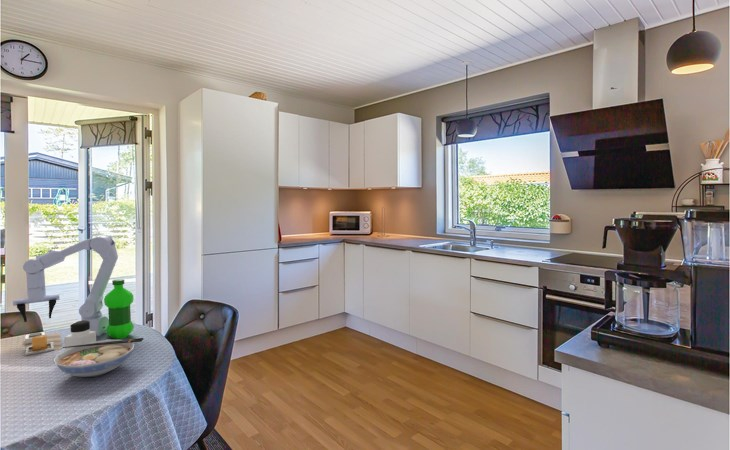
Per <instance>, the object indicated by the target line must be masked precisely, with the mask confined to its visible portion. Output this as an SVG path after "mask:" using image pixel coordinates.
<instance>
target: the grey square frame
mask: <svg viewBox="0 0 730 450" xmlns="http://www.w3.org/2000/svg"><path fill="white" fill-rule="evenodd" d="M48 345H51V348H48V349H43V350H38V351H33V352H29V349H32V346H29V347H26V352H25V356H24V357H27V356H26V355H29V356H32V355H31V354H34V355H38V354H37V353H39V354H43V353H42V352H44V353H48V352H47V351H49V352H53V351H52V350H54V347H53V342H51V343H47V346H48Z"/></svg>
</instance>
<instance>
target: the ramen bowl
mask: <svg viewBox="0 0 730 450" xmlns="http://www.w3.org/2000/svg"><path fill="white" fill-rule="evenodd" d="M143 340H144V337H139V338H138V337H136V338H131V339H128V338H127V339H105V340H98V341H97V340H96V342H92V343H87V344H83V345H77V346H68V347H65V346H62V349H64V351H62V352H60V353H58V354H56V355H55V357H54V358H53V362H54V363H55V365H56V366H57V368H58V369H59V370H60V371H61V372H63V373H64V374H66V375H69V376H74V377H80V378H81V377H82V378H84V377H85V378H95V377H100V376H102V375H105V374H107V373H108V372H111V371H113V370H115V369H116V368H118V367H119V366H121V365H122V364H124V363H125V362H126V361H127V360H128V358H129V357H130V356H131V354H132V352H133V350H134V348H135V343H141V342H143ZM70 347H73V348H70ZM65 348H70V349H68V350H65Z"/></svg>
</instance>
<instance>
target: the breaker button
mask: <svg viewBox="0 0 730 450" xmlns="http://www.w3.org/2000/svg"><path fill="white" fill-rule="evenodd" d="M41 332H42V331H39V332H35V333H29V334H30V338H31V337H35V336H39V335H41Z"/></svg>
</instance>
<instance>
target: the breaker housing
mask: <svg viewBox="0 0 730 450" xmlns="http://www.w3.org/2000/svg"><path fill="white" fill-rule="evenodd" d="M40 332H41V335H46V333H45V331H40ZM30 334H31V333H29V334H26V335H25V337H24V343H25V344H28V343H32V337H31V338H30Z"/></svg>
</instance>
